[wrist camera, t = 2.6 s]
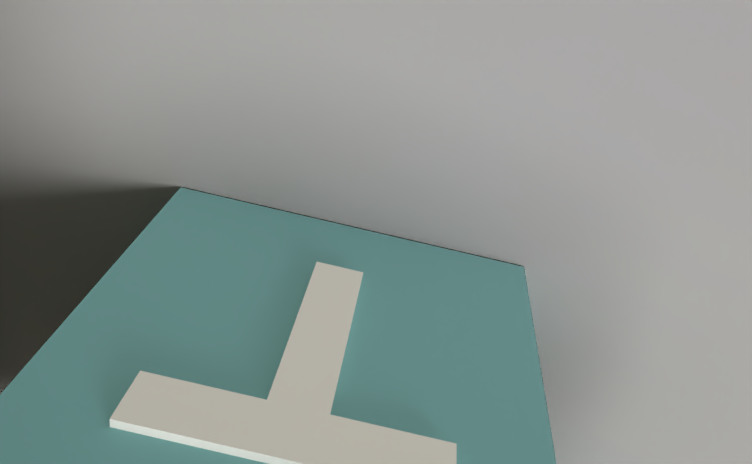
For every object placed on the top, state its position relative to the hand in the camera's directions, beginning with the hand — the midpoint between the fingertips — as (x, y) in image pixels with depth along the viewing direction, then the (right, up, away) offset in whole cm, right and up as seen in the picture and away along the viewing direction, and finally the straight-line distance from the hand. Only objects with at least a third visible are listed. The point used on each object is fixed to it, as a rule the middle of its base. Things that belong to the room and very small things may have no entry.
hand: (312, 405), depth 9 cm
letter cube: (0, +1, +1) cm, 1 cm away
